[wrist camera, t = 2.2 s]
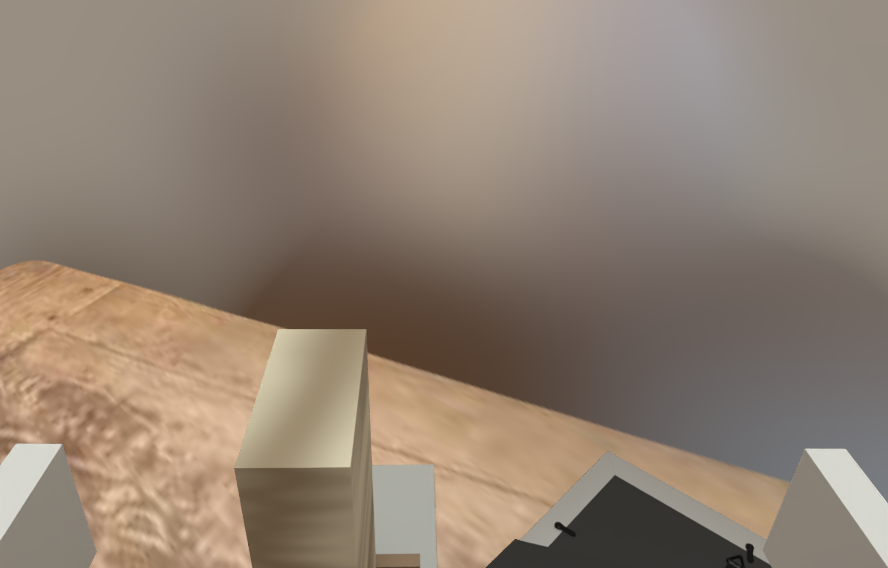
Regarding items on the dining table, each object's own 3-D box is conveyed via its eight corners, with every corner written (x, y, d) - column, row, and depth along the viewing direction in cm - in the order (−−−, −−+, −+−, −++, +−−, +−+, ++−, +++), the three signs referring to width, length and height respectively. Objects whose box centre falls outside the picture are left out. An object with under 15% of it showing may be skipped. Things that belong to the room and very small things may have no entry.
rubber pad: (433, 469, 47) (433, 464, 46) (437, 584, 39) (437, 580, 39) (287, 470, 46) (287, 465, 46) (261, 587, 38) (260, 583, 38)
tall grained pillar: (377, 608, 36) (366, 329, 27) (369, 765, 30) (350, 467, 21) (312, 609, 36) (278, 329, 27) (288, 767, 29) (234, 468, 20)
